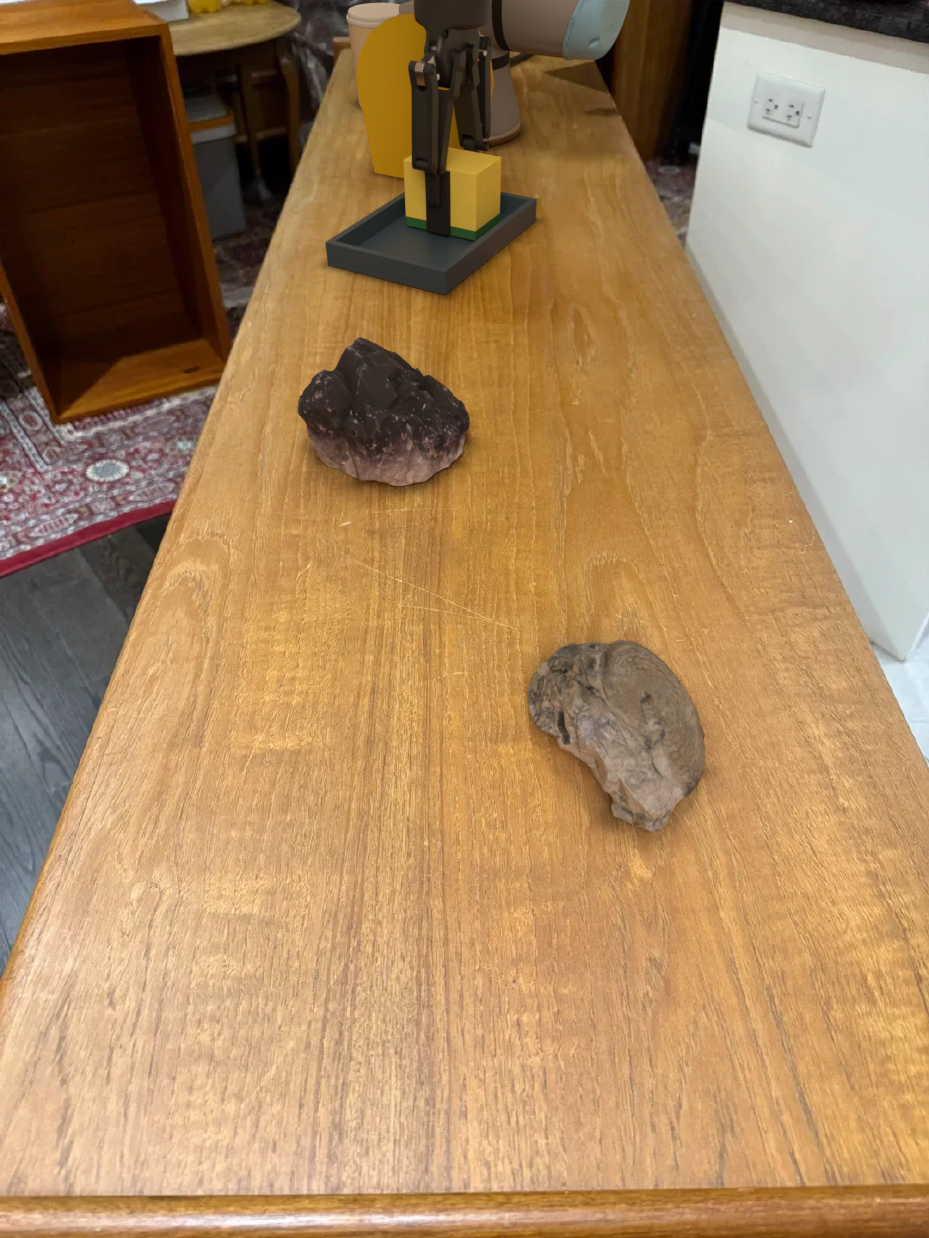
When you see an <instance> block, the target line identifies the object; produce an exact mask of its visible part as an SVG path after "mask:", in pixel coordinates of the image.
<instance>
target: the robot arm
mask: <svg viewBox="0 0 929 1238" xmlns="http://www.w3.org/2000/svg"><path fill="white" fill-rule="evenodd" d="M630 2H631V0H414V18H415V20H416V22H417V23H418V24H420V25H422V26H423V27H424V28H425V30H426V41H425V46H424V57H423V58H422V59H421V60H420V61H412V60H411V61H410V62H409V65H408V72H409V77H410V83H411V99H412V168H413V169H416V170H420V171H424V173H425V189H426V190H425V193H426V194H425V195H426V228H427V231H430V232H434V233H438V234H443V235H447V236H448V235H449V234H450V233H451V197H450V171H446V163H447V155H448V147H449V139H450V130H451V122H452V114H453V106H454V111H455V118H456V125H457V131H458V138H459V144H460V146H461V147H463V149H461V150H467V151H472V152H477V153H479V150H481V151H482V152H488V150H489V148H490V147H492V146H496V145H501V144H505V143H508V142H510V141H512V140H514V139H515V138H517V137H518V136H519V135H520V132H521V121H522V120H521V112H520V108H519V107H520V106H519V103H518V99H517V94H516V91H515V86H514V83H513V78H512V74H511V67H510V66H511V65H513V64H516V63H519V62H521V61H523V60H524V59H527V58H528V57H530V56H532V55H535V56H541V57H549V58H550V57H551V58H557V59H563V60H564V61H574V60H579V61H596V60H599V59H602V58H603V57H604V56H605V55H606V54H607V53H608V52H609V51H610V50H611V48H612V47H613V45H614V44H615V42H616V40H617V38H618V37H619V35H620V32H621V30H622V27H623V25H624V22H625V19H626V16H627V12H628V10H629V6H630ZM478 30H479V31H478ZM479 32H480V34H481V35H479ZM511 52H513V53H517V54H516V55H514V56H511ZM478 59H479V61H477V60H478ZM490 62H491V63H492V71H493V79H494V87H493V92H492V97H491V71H490ZM438 87H442V88H448V89H449V90H442V89H438ZM481 123H482V126H481ZM483 140H484V141H483Z"/></svg>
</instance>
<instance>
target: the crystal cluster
mask: <svg viewBox="0 0 929 1238" xmlns="http://www.w3.org/2000/svg"><path fill="white" fill-rule="evenodd" d="M297 415H298V416H299V417H300V418H301V419H302V420H303V421H304V423H305V425H306V430H307V437H308V438H309V440H310V443H311V445H312V447H313V449H314V450H315V452H316V454H317V456H318V458H319V459H320V461H322V462H323V464H324V465H326V467H329V468H333V469H335V470H339V471H341V472H343V473H345V474H346V475H348V476H350V477H352V478H355V479H358V480H359V481H360V482H363V483H365V482H366V483H367V482H372V481H374V482H379V483H384V484H388V485H391V486H397V487H403V486H408V485H413V484H418V483H423V482H426V481H428V480H429V479H430V478H432V477H433V476H434V475H435V474H436V473H438V472H440V471H441V470H443V469H446V468H449V467H450V466H451V464H453V462H455V461H456V460H458V458H459V457H460V456H461V455H462V454H463V453H464V446H465V443H466V436H467V433H468V431H469V428H470V425H471V419H470V413H469V412H468V411H467V409H466V405H465V403H464V402H463V401H462V400H461V399H458V398H457V397H456V396H455V395H454V393H453V392H452V391H451V390H450V388H448V387H447V386H445V385H444V384H443V383H442V382H441V381H439V380H438V379H437V378H435V377H434V376H432V375H431V374H426V375H424V374H423V373H422V372H421V370H420V369H419V368H418V367H416V368H415V367H413V366H412V365H411V364H410V363H409V362H408V361H407V360H406V359H404V358H403V357H402V356H400V354H398V353H397V352H396V351H392V350H388V349H386V348H384V346H381V345H380V344H377V343H375V342H373V341H371V340H369V339H367V338H364V337H361V336H358V337H357V338H356V339H355V340H354V341H353V342H352V344H351V345H348V346H345V348H344V349H343V352H342V354H341V355H340V357H339V360H338V362H337V364H336V366H335V367H334V368H333V369H332V370H327V369H322V370H320V371H319V372H317V373H316V374H314V376H313V377H312V378H311V380H310V382H309V383H308V385H306V387H304V389H303V391H302V393H301V395H299V398H298V401H297Z"/></svg>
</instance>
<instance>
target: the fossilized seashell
mask: <svg viewBox="0 0 929 1238" xmlns="http://www.w3.org/2000/svg"><path fill="white" fill-rule="evenodd" d="M526 694H527V705H528V710H529V715H530V719H531V721H532V723H534V725H535V726H536V727H537V728H538V729H539V730H540V731H542V732H543V733H545V734H547V735H549V736H551V737H553V738H556V744H557V746H558V747H559V748H560V749H562V750H564V751H566V752H568V753H570V754H572V755H573V756H575V757H576V758H578V759H579V760H581V761H582V762H584V763H585V764H586V766H587V767H589V768H590V770H591V773H592V774H593V775H594V778H595V780H596V781H597V782H598V783H599V785H600V786H601V790H603V792H604V793H606V794H609V796H610V797H611V799H612V802H611V804H610V807H611V808H610V810H611V813H612V815H613V817H615V818H617V819H620V820H622V821H623V822H624V823H628V824H630V826H633V827H634V828H641V829H643V830H645V831H648V832H650V833H656V832H660V831H661V830H662V829H663V828H664V827H665V826H666V825H667V824H668V823H669V821H670V818H671V816H672V814H673V812H674V810H675V809H676V806H677V805H678V803H679V802H680V801H682V800H683V799H685V798H687V797H689V796H690V795H691V794H693V792H694V790H695V789H696V788H697V787H698V785H699V782H700V780H701V777H702V774H703V771H704V767H705V760H706V754H705V753H706V752H705V751H706V747H705V743H704V742H705V734H704V729H703V726H702V724H701V719H700V714H699V712H698V709H697V706H696V705H695V704H694V702H693V700H692V697H691V696H690V694H689V692H688V691H687V690H686V688H685V686H684V685H683V683H682V682H681V681H680V679H679V678H678V676H677V674H676V673H675V672H674V671H673V670H672V669H671V668H670V667H669V665H668V664H667V663H666V662H665V661H664V660H662V658H660V657H659V656H658V655H657V654H655V653H654V652H653V650H651V649H649V648H648V647H647V646H644V645H643V644H641V643H638V642H636V641H632V640H624V639H618V640H615V641H612V642H609V643H605V642H596V641H593V642H591V641H590V642H584V643H575V642H570V643H568V644H566V645H563V646H559V647H557V648H556V649H555V650H554V651H553V652H552V653H551V655H550V656H549V657H548V658H547V660H544V661H543V662H541V663H540V664H539V666H538V669H537V670H536V671H535V672H534V673H533V675H532V676H531V679H530V682H529V685H528V686H527V687H526Z"/></svg>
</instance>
